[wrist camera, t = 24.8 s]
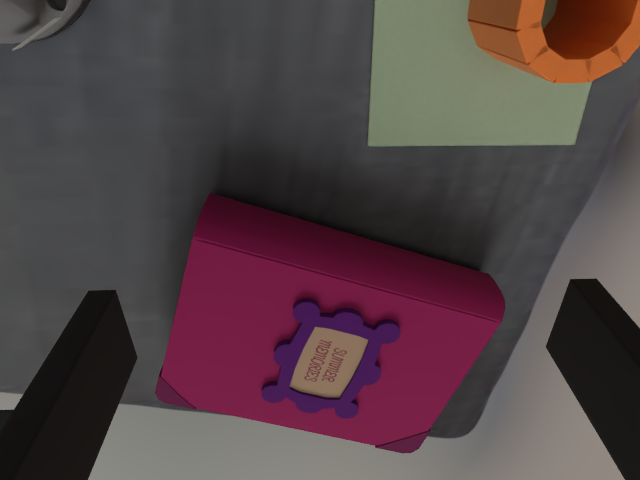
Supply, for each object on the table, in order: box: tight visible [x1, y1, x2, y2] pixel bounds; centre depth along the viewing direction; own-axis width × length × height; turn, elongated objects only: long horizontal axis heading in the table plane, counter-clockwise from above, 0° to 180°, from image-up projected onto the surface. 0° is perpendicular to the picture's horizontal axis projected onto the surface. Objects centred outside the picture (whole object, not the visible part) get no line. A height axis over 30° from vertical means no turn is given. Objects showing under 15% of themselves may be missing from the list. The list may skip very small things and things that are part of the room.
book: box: [155, 193, 505, 453], centre depth 45 cm, size 21×28×8 cm
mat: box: [367, 0, 592, 146], centre depth 35 cm, size 18×20×1 cm
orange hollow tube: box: [467, 0, 640, 83], centre depth 30 cm, size 8×8×10 cm
